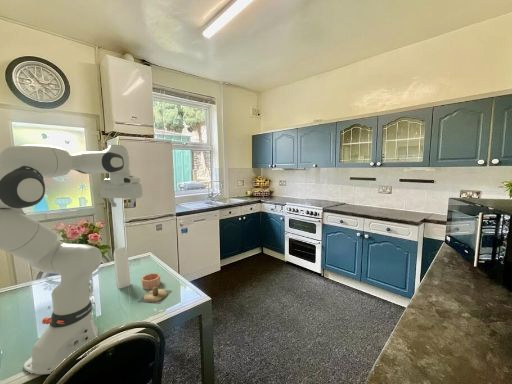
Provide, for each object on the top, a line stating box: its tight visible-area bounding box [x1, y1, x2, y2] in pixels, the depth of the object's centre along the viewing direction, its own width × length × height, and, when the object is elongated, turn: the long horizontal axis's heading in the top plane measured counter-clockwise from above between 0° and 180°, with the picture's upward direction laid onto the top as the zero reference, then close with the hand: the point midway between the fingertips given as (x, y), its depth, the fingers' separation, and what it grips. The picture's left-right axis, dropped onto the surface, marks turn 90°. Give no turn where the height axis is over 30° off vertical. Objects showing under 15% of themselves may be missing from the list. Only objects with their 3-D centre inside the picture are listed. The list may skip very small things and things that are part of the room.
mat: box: [137, 289, 173, 305], centre depth 122 cm, size 12×12×1 cm
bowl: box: [140, 272, 162, 290], centre depth 133 cm, size 9×9×5 cm
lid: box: [143, 286, 168, 302], centre depth 122 cm, size 11×11×4 cm
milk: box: [113, 246, 131, 290], centre depth 132 cm, size 6×6×22 cm
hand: (122, 206), depth 117 cm, fingers open, 8 cm apart
